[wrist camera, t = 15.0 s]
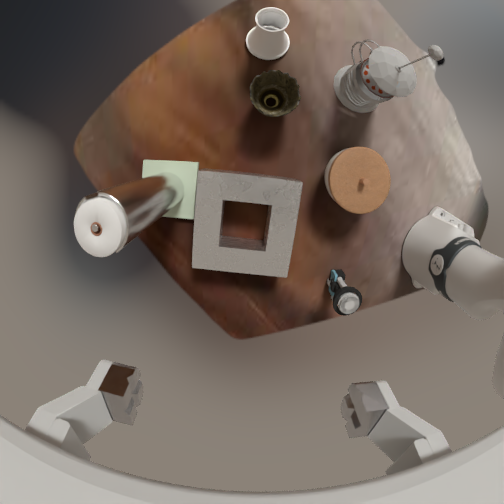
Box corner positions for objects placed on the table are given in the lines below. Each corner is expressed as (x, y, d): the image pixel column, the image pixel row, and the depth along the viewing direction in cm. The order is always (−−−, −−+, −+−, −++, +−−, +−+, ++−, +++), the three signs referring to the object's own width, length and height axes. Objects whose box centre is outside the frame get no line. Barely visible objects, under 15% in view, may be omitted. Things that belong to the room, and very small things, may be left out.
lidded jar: (316, 145, 45) (332, 144, 36) (371, 148, 45) (396, 149, 36) (317, 205, 48) (332, 217, 40) (370, 205, 48) (393, 216, 40)
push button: (343, 296, 55) (359, 323, 46) (319, 297, 55) (331, 325, 45) (348, 267, 53) (366, 290, 43) (322, 267, 53) (337, 292, 43)
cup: (293, 122, 43) (302, 116, 36) (249, 122, 43) (250, 116, 36) (291, 83, 41) (299, 70, 33) (248, 82, 41) (248, 69, 33)
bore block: (296, 178, 47) (302, 182, 41) (282, 263, 52) (286, 277, 46) (204, 168, 46) (198, 170, 40) (197, 255, 51) (191, 267, 46)
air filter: (188, 177, 45) (130, 203, 22) (179, 212, 47) (119, 269, 24) (154, 168, 44) (72, 186, 21) (146, 203, 47) (66, 249, 23)
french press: (348, 120, 43) (430, 100, 19) (319, 64, 39) (377, 2, 16) (389, 105, 42) (480, 86, 18) (362, 52, 38) (436, 0, 14)
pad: (199, 162, 45) (198, 162, 44) (194, 218, 49) (193, 219, 48) (145, 159, 45) (143, 159, 44) (142, 213, 48) (141, 214, 47)
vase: (237, 46, 38) (235, 23, 29) (261, 20, 36) (265, -6, 27) (273, 67, 40) (279, 47, 30) (296, 40, 38) (307, 17, 28)
